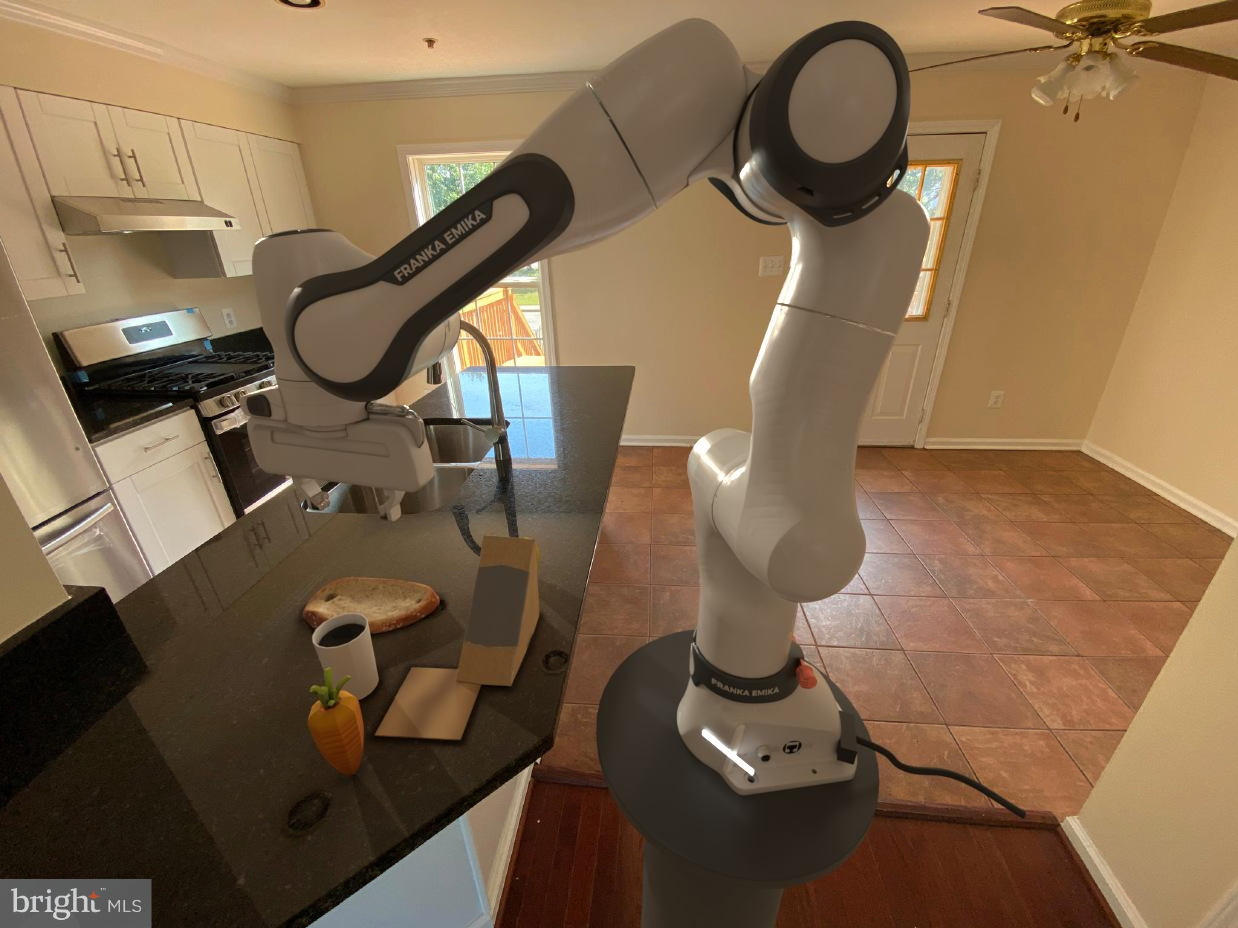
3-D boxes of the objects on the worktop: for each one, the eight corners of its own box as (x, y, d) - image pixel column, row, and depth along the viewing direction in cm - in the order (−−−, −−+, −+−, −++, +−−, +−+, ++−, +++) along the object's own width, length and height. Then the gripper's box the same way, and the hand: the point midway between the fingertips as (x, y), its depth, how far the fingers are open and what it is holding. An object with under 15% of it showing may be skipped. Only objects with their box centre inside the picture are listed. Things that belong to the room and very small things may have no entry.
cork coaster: (486, 671, 72) (486, 670, 72) (460, 740, 62) (460, 739, 62) (412, 668, 73) (412, 667, 73) (374, 735, 63) (374, 734, 63)
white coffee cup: (323, 683, 70) (306, 628, 66) (373, 659, 74) (359, 606, 70) (337, 714, 66) (319, 656, 62) (389, 686, 70) (375, 631, 66)
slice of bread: (447, 605, 85) (444, 587, 84) (337, 665, 73) (331, 645, 72) (398, 563, 96) (395, 547, 95) (295, 609, 84) (289, 591, 83)
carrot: (345, 751, 61) (316, 658, 55) (384, 755, 60) (359, 662, 54) (319, 792, 56) (284, 695, 50) (360, 796, 56) (330, 700, 50)
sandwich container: (452, 681, 70) (438, 594, 64) (491, 610, 84) (482, 533, 78) (511, 687, 69) (502, 600, 64) (540, 614, 83) (535, 537, 78)
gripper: (437, 399, 53) (450, 511, 59) (274, 383, 57) (301, 491, 63) (401, 416, 48) (420, 539, 53) (224, 398, 51) (258, 515, 57)
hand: (355, 513), depth 58 cm, fingers open, 8 cm apart
